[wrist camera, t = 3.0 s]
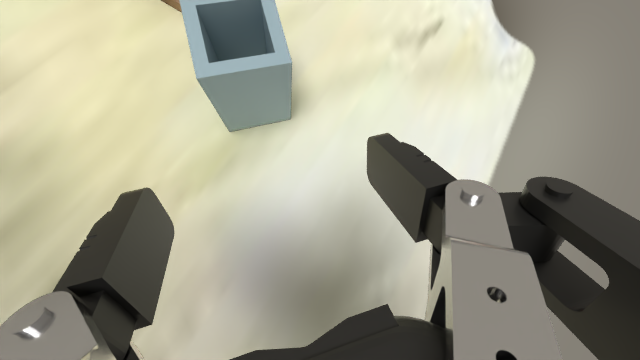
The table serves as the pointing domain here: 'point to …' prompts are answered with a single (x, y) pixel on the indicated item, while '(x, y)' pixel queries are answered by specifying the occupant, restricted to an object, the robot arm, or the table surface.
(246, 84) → the collar
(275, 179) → the table surface
